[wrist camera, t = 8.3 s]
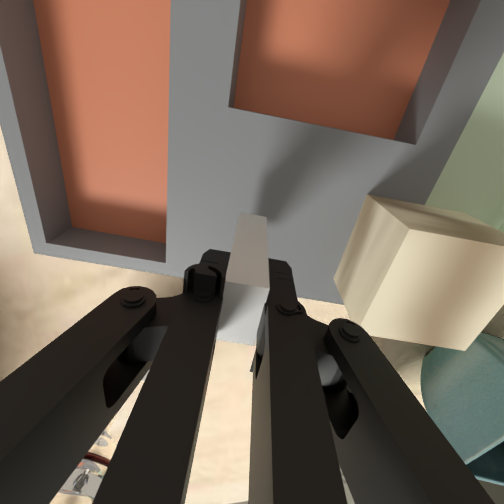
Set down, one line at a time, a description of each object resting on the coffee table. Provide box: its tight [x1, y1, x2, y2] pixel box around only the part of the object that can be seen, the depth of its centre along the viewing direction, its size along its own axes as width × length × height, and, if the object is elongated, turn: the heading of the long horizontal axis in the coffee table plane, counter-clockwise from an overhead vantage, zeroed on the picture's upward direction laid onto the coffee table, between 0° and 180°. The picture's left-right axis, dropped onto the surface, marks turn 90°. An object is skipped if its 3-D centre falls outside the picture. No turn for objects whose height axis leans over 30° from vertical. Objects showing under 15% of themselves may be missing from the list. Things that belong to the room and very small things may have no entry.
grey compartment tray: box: [0, 0, 504, 305], centre depth 14 cm, size 30×20×5 cm, turn 80°
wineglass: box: [50, 369, 150, 504], centre depth 23 cm, size 7×7×12 cm
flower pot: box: [421, 332, 504, 485], centre depth 21 cm, size 9×9×9 cm
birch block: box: [333, 194, 504, 351], centre depth 14 cm, size 6×6×5 cm
